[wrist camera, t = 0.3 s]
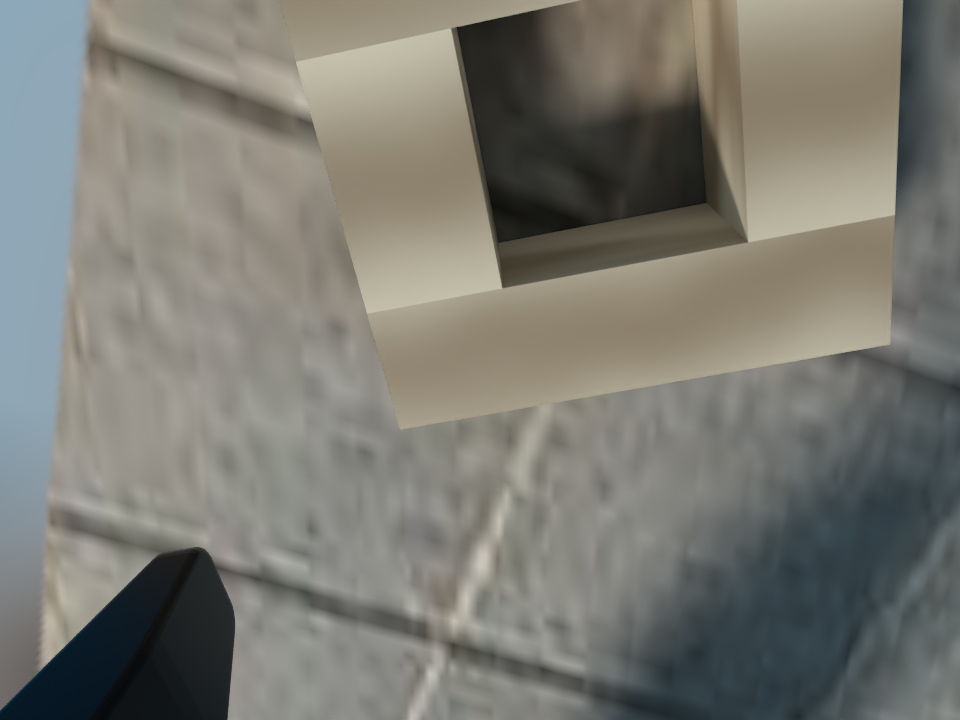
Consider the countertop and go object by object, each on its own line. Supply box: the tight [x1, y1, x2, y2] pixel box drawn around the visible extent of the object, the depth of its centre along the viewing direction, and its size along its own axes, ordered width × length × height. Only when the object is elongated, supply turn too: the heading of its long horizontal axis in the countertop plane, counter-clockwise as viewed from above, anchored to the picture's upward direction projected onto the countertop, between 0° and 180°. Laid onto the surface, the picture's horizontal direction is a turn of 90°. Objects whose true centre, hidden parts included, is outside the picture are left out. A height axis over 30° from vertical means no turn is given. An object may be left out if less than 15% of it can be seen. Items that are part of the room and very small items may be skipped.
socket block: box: [279, 0, 903, 429], centre depth 18 cm, size 12×12×4 cm
